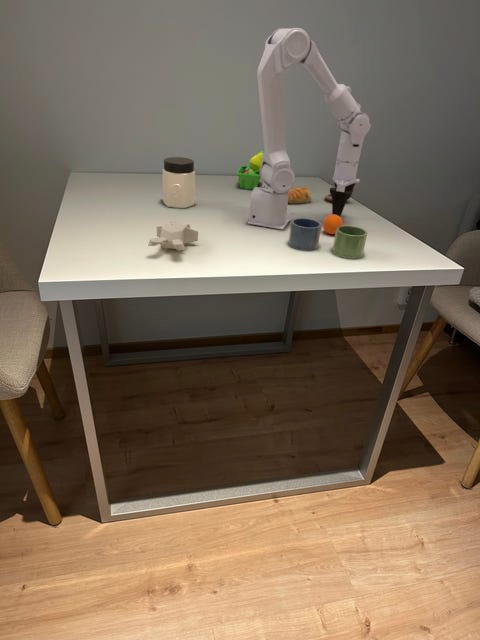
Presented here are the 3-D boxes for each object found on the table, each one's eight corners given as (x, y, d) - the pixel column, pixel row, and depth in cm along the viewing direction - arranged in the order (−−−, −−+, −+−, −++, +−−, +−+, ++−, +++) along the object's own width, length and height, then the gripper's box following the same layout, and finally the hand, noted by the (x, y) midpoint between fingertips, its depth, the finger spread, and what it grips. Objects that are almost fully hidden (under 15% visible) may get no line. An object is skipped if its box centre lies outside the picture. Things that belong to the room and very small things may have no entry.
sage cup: (330, 255, 108) (334, 232, 105) (334, 245, 113) (338, 223, 111) (361, 261, 106) (366, 238, 103) (363, 250, 112) (368, 228, 109)
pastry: (290, 206, 138) (292, 193, 136) (275, 200, 143) (276, 187, 141) (312, 202, 144) (314, 189, 142) (297, 196, 148) (298, 184, 146)
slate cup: (285, 247, 110) (288, 225, 107) (291, 237, 116) (294, 216, 113) (315, 252, 108) (319, 230, 106) (319, 242, 114) (323, 221, 111)
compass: (323, 197, 149) (327, 174, 146) (347, 199, 149) (352, 176, 146) (326, 204, 142) (330, 180, 139) (352, 206, 142) (357, 182, 139)
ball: (320, 235, 119) (323, 216, 116) (323, 229, 123) (326, 210, 121) (339, 238, 118) (343, 219, 115) (342, 232, 122) (345, 213, 119)
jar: (160, 206, 129) (159, 162, 123) (165, 198, 136) (165, 155, 130) (192, 209, 129) (193, 165, 123) (196, 201, 136) (197, 158, 130)
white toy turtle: (202, 221, 109) (188, 236, 96) (201, 242, 111) (187, 260, 98) (162, 216, 110) (143, 231, 96) (162, 238, 112) (143, 255, 98)
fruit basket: (240, 180, 160) (242, 146, 154) (266, 183, 159) (269, 148, 153) (235, 189, 150) (238, 152, 144) (263, 192, 149) (266, 155, 144)
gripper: (361, 168, 114) (350, 221, 121) (365, 157, 126) (355, 206, 133) (332, 164, 116) (323, 217, 123) (339, 154, 128) (330, 202, 135)
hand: (338, 211), depth 128 cm, fingers open, 7 cm apart
